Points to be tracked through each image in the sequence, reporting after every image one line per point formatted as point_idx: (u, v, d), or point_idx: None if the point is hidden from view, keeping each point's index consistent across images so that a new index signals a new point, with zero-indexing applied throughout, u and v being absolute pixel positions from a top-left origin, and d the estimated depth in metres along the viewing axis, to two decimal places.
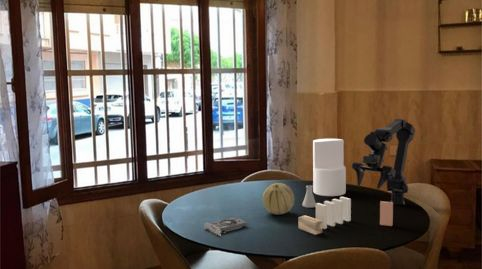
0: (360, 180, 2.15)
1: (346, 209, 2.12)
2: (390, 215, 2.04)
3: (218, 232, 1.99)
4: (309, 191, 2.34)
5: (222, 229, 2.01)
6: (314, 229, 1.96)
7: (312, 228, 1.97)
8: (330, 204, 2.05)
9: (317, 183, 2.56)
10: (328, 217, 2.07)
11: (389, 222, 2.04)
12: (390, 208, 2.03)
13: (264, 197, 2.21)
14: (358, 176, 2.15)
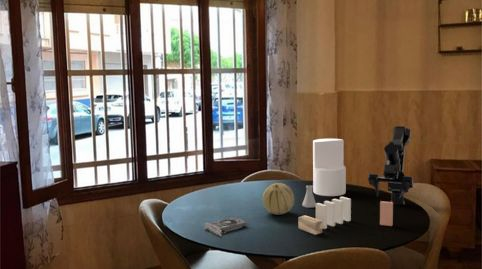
0: (378, 191, 2.11)
1: (346, 209, 2.12)
2: (390, 215, 2.04)
3: (218, 232, 1.99)
4: (309, 191, 2.34)
5: (222, 229, 2.01)
6: (314, 229, 1.96)
7: (312, 228, 1.97)
8: (330, 204, 2.05)
9: (317, 183, 2.56)
10: (328, 217, 2.07)
11: (389, 222, 2.04)
12: (390, 208, 2.03)
13: (264, 197, 2.21)
14: (376, 187, 2.11)
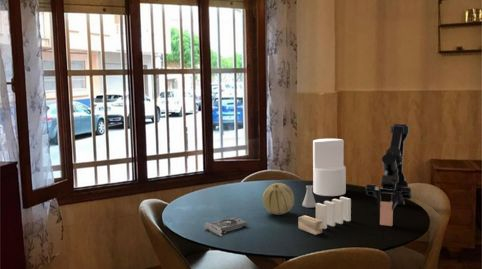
0: None
1: (346, 209, 2.12)
2: (390, 215, 2.04)
3: (219, 232, 1.99)
4: (309, 191, 2.34)
5: (222, 229, 2.01)
6: (314, 229, 1.96)
7: (312, 228, 1.97)
8: (330, 204, 2.05)
9: (317, 183, 2.56)
10: (328, 217, 2.07)
11: (389, 222, 2.04)
12: (390, 208, 2.03)
13: (264, 197, 2.21)
14: (378, 198, 2.06)
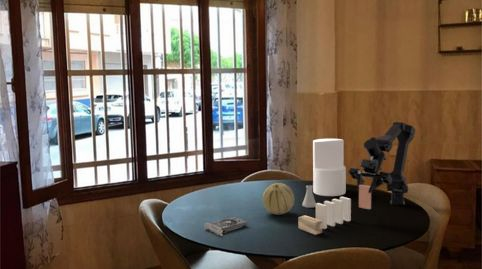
0: None
1: (346, 209, 2.12)
2: (367, 198, 2.08)
3: (219, 232, 1.99)
4: (309, 191, 2.34)
5: (223, 229, 2.01)
6: (314, 229, 1.96)
7: (312, 228, 1.97)
8: (330, 204, 2.05)
9: (317, 183, 2.56)
10: (328, 217, 2.07)
11: (367, 206, 2.09)
12: (367, 191, 2.08)
13: (264, 197, 2.21)
14: (358, 181, 2.12)
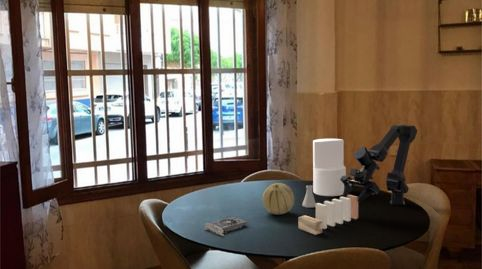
0: (346, 193, 2.19)
1: (346, 209, 2.12)
2: (354, 208, 2.14)
3: (220, 232, 1.99)
4: (309, 191, 2.34)
5: (224, 229, 2.01)
6: (314, 229, 1.96)
7: (312, 228, 1.97)
8: (330, 204, 2.05)
9: (317, 183, 2.56)
10: (328, 217, 2.07)
11: (354, 216, 2.15)
12: (354, 202, 2.14)
13: (264, 197, 2.21)
14: (345, 189, 2.19)
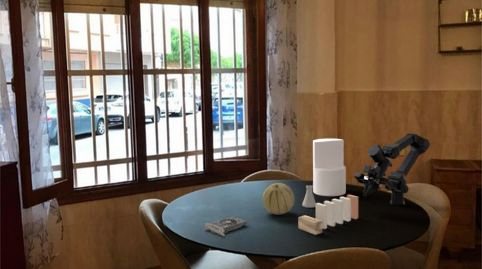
0: None
1: (346, 209, 2.12)
2: (354, 208, 2.14)
3: (221, 232, 1.99)
4: (309, 191, 2.34)
5: (224, 229, 2.01)
6: (314, 229, 1.96)
7: (312, 228, 1.97)
8: (330, 204, 2.05)
9: (317, 183, 2.56)
10: (328, 217, 2.07)
11: (354, 216, 2.15)
12: (354, 202, 2.14)
13: (264, 197, 2.21)
14: (365, 186, 2.22)
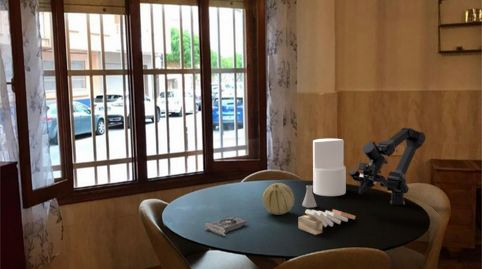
0: None
1: (337, 218, 2.09)
2: None
3: (222, 232, 1.99)
4: (309, 191, 2.34)
5: (225, 229, 2.01)
6: (314, 229, 1.96)
7: (312, 228, 1.97)
8: None
9: (317, 183, 2.56)
10: None
11: (351, 218, 2.14)
12: (342, 215, 2.10)
13: (264, 197, 2.21)
14: (360, 184, 2.19)
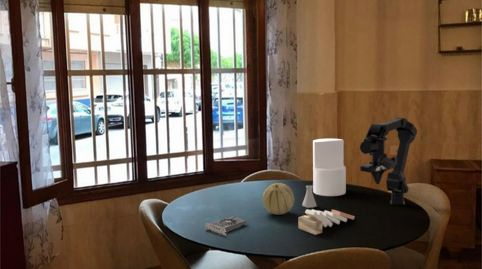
0: None
1: (336, 218, 2.08)
2: (346, 217, 2.11)
3: (222, 232, 1.99)
4: (309, 191, 2.34)
5: (225, 229, 2.01)
6: (314, 229, 1.96)
7: (312, 228, 1.97)
8: None
9: (317, 183, 2.56)
10: None
11: (350, 218, 2.14)
12: None
13: (264, 197, 2.21)
14: (378, 176, 2.21)
